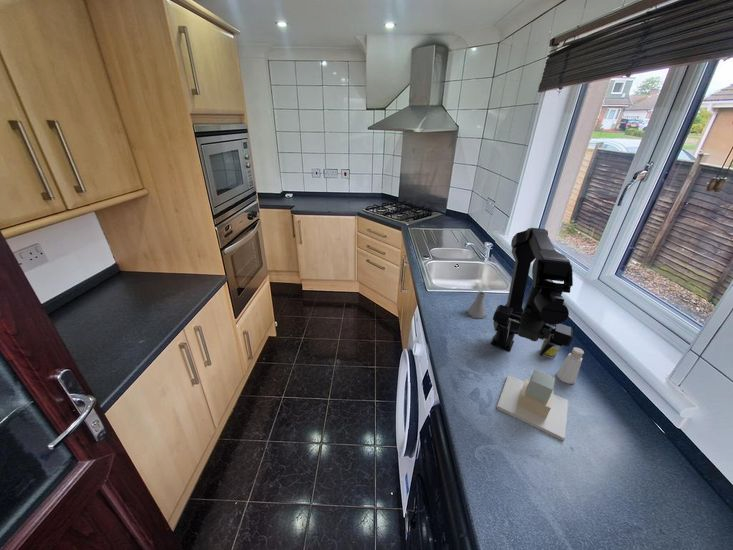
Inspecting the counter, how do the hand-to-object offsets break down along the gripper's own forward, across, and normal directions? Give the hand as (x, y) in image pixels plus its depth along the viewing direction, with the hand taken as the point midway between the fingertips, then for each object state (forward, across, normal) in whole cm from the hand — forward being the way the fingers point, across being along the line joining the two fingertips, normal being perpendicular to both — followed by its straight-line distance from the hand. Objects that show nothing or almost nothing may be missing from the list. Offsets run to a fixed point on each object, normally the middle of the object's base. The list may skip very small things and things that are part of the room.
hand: (522, 348), depth 85 cm
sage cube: (+8, +7, -6) cm, 12 cm away
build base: (+13, +7, -6) cm, 16 cm away
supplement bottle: (+13, +8, +21) cm, 26 cm away
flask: (+14, -19, +30) cm, 38 cm away
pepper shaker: (+13, +14, +12) cm, 22 cm away
